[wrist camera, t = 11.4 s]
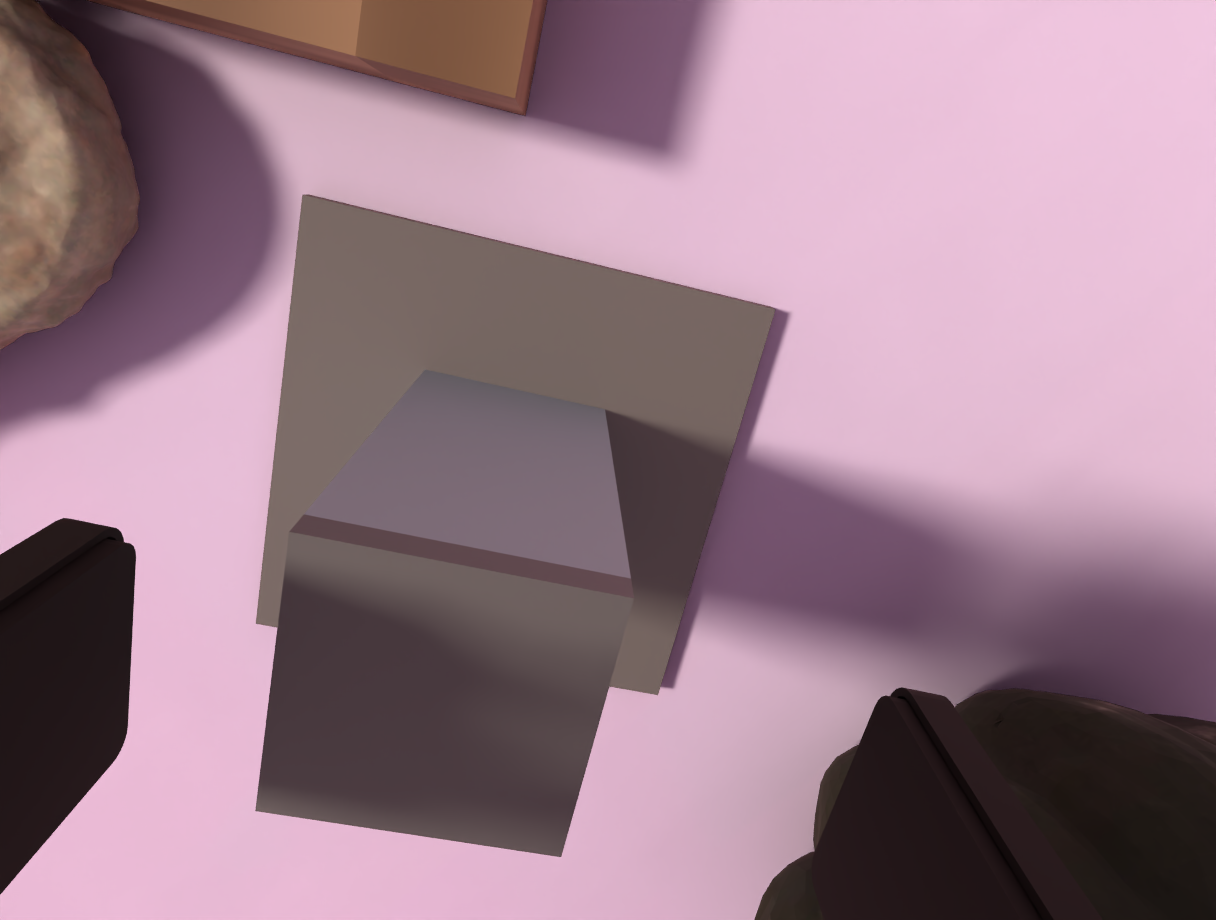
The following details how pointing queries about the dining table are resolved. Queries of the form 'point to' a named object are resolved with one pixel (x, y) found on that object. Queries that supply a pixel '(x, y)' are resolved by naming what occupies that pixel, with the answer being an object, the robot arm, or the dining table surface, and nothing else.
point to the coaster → (516, 381)
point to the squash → (1082, 802)
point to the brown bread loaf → (56, 174)
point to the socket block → (385, 38)
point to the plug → (451, 622)
